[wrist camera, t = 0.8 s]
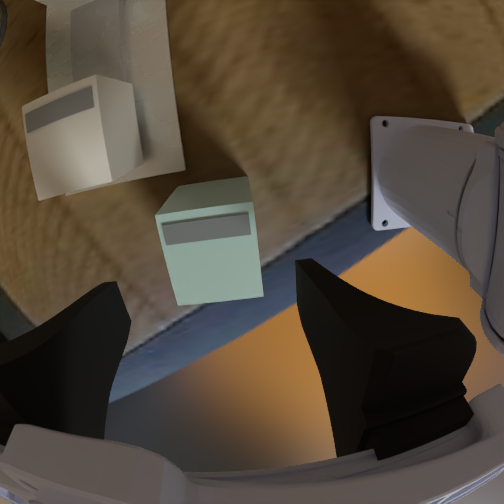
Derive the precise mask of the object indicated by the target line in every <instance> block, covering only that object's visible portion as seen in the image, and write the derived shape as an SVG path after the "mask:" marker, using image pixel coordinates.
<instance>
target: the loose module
mask: <svg viewBox="0 0 504 504" xmlns="http://www.w3.org/2000/svg"><path fill="white" fill-rule="evenodd" d="M155 218H156V223H157V227H158V231H159V236H160V240H161V244H162V248H163V252H164V256H165V260H166V264H167V268H168V271H169V275H170V279H171V283H172V286H173V290H174V293H175V297H176V300H177V304H178V306H179V305H190V304H200V303H210V302H220V301H229V300H238V299H247V298H255V297H263V287H262V278H261V269H260V260H259V251H258V242H257V233H256V224H255V215H254V206H253V199H252V194H251V189H250V185H249V180H248V176H246V177H238V178H230V179H222V180H215V181H208V182H201V183H194V184H188V185H182V186H178V187H177V188H176V189H175V190H174V192H173V193H172V194H171V195H170V197H169V198H168V199H167V200H166V202H165V203H164V204H163V205H162V207H161V208H160V209H159V211H158V212H157V213H156V215H155Z"/></svg>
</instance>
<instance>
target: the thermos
mask: <svg viewBox="0 0 504 504" xmlns="http://www.w3.org/2000/svg"><path fill="white" fill-rule="evenodd" d="M6 24H7V11H6V8H5V5H4V4H3V3H1V2H0V45H1V43H2V41H3V37H4V33H5V29H6Z"/></svg>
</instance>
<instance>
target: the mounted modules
mask: <svg viewBox="0 0 504 504" xmlns="http://www.w3.org/2000/svg"><path fill="white" fill-rule="evenodd" d="M35 1H37V2H40V3H42V4H44V5H47V6H49V7H51V8H53V9H56V10H58V11H60V12H62V13H64V14H65V13H67V12H69V11H71V10H73V9H76V8H78V7H80V6H82V5H85V4H87V3H90V2H92V1H95V0H35ZM22 114H23V123H24V130H25V137H26V143H27V149H28V155H29V160H30V165H31V170H32V175H33V179H34V183H35V188H36V192H37V196H38V200H39V201H40V200H44V199H47V198H50V197H54V196H57V195H61V194H65V193H68V192H72V191H76V190H80V189H84V188H88V187H92V186H96V185H100V184H104V183H108V182H113V181H114V180H116V179H118V178H119V177H121V176H123V175H125V174H126V173H128V172H130V171H132V170H133V169H135V168H137V167H139V166H141V165H143V164H144V160H143V155H142V149H141V143H140V137H139V130H138V124H137V117H136V110H135V102H134V95H133V86H132V84H131V83H127V82H123V81H120V80H116V79H112V78H108V77H104V76H100V75H93V76H90V77H87V78H85V79H82V80H79V81H77V82H74V83H72V84H69V85H67V86H65V87H62V88H60V89H58V90H55V91H53V92H51V93H49V94H46V95H44V96H42V97H40V98H38V99H36V100H34V101H32V102H30V103H28V104H26V105H24V106H22Z"/></svg>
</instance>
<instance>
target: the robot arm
mask: <svg viewBox="0 0 504 504" xmlns="http://www.w3.org/2000/svg"><path fill="white" fill-rule="evenodd" d="M383 120H385V121H386V126H385V127H383V125H382V121H383ZM459 127H460V130H459ZM370 133H371V165H372V198H371V226H372V228H373V229H375V230H387V229H396V228H405V227H414V228H415V229H416V230H418V231H419V232H420V233H422V234H423V235H424V236H426V237H427V238H428V239H430V240H431V241H432V242H433V243H435V244H436V245H437V246H438V247H440V248H441V249H442V250H444V251H445V252H446V253H447V254H448V255H450V256H451V257H452V258H453V259H454V260H456V261H457V262H458V263H459V264H460V265H462V266H463V267H464V268H465V269H466V270H468V272H469V274H470V287H471V288H472V289H473V290H474V291H475V292H476V293H477V294H478V295H479V296H480V297H482V299H483V300H482V305H481V310H480V320H481V325H482V329H483V331H484V333H485V335H486V337H487V339H488V340H489V342H490V343H491V344H492V346H493V347H494V348H495V349H496V350H497V351H498V352H499V353H501V354H502V355H503V356H504V122H503V123H502V124H501V126H499V127H497V128H496V129H495V137H490V136H486V135H481V134H477V133H473V127H472V126H471V125H470V124H465V123H458V122H450V121H441V120H432V119H421V118H407V117H390V116H374V117H372V118H371V120H370ZM384 220H386V223H385V224H384V225H382V222H383V221H384ZM295 266H296V289H297V306H298V311H299V315H300V320H301V324H302V327H303V330H304V333H305V335H306V338H307V341H308V343H309V346H310V349H311V351H312V354H313V356H314V359H315V362H316V365H317V367H318V370H319V373H320V377H321V380H322V385H323V389H324V393H325V397H326V402H327V407H328V411H329V416H330V421H331V426H332V432H333V437H334V442H335V449H336V455H337V458H333V459H329V460H324V461H319V462H314V463H308V464H302V465H296V466H288V467H281V468H273V469H263V470H253V471H237V472H182V471H181V470H180V469H179V468H178V467H177V466H175V465H174V464H173V463H171V462H170V461H169V460H167V459H166V458H164V457H163V456H162V455H159V454H156V453H153V452H151V451H148V450H146V449H143V448H141V447H138V446H133V445H128V444H124V443H120V442H116V441H110V440H104V432H105V421H106V413H107V407H108V402H109V396H110V391H111V387H112V384H113V381H114V378H115V375H116V372H117V369H118V366H119V363H120V360H121V358H122V355H123V352H124V349H125V346H126V343H127V340H128V335H129V331H130V325H131V319H130V317H129V314H128V312H127V309H126V306H125V304H124V301H123V298H122V296H121V293H120V290H119V288H118V285H117V282H116V281H114V282H104V283H102V284H100V285H98V286H97V287H95V288H93V289H92V290H90V291H89V292H88V293H86V294H85V295H83V296H82V297H81V298H79V299H78V300H76V301H75V302H74V303H72V304H71V305H70V306H68V307H67V308H65V309H64V310H62V311H61V312H60V313H58V314H57V315H55V316H54V317H52V318H51V319H49V320H48V321H46V322H45V323H43V324H42V325H40V326H38V327H36V328H35V329H33V330H31V331H29V332H27V333H25V334H23V335H21V336H19V337H17V338H15V339H13V340H11V341H8V342H6V343H3V344H1V345H0V497H1V498H3V499H5V500H7V501H9V502H10V503H12V504H451V503H453V502H455V501H457V500H458V499H460V498H462V497H464V496H465V495H467V494H469V493H470V492H472V491H474V490H476V489H477V488H479V487H480V486H482V485H484V484H485V483H487V482H488V481H490V480H491V479H492V478H494V477H496V476H497V475H498V474H499V473H500V472H502V471H503V470H504V387H503V386H502V385H501V384H498V385H496V386H494V387H493V388H491V389H489V390H487V391H485V392H483V393H481V394H479V395H478V396H476V397H474V398H473V399H472V400H471V401H470V402H469V403H468V402H467V401H466V399H465V397H464V395H465V394H466V392H467V390H466V388H465V386H464V385H463V383H462V381H463V379H464V376H465V375H466V373H467V371H468V369H469V367H470V365H471V363H472V361H473V358H474V355H475V353H476V343H477V342H476V339H475V337H474V335H473V334H472V333H471V332H470V330H469V329H468V328H467V327H466V326H465V325H464V323H463V322H462V321H461V320H460V319H459V318H456V317H448V316H441V315H433V314H428V313H423V312H419V311H414V310H411V309H407V308H403V307H400V306H397V305H394V304H391V303H388V302H386V301H383V300H381V299H378V298H376V297H373V296H371V295H369V294H367V293H365V292H363V291H361V290H359V289H357V288H356V287H354V286H352V285H350V284H349V283H347V282H345V281H344V280H342V279H340V278H339V277H337V276H336V275H334V274H333V273H331V272H330V271H329V270H327V269H326V268H324V267H323V266H321V265H320V264H319V263H317V262H316V261H314V260H313V259H311V258H310V259H302V260H295Z"/></svg>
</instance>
